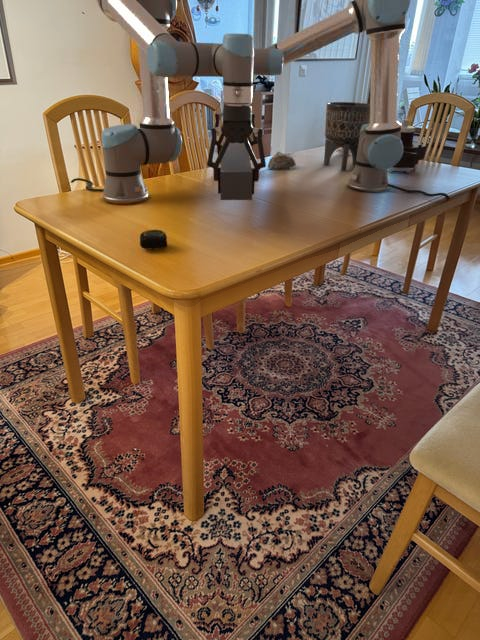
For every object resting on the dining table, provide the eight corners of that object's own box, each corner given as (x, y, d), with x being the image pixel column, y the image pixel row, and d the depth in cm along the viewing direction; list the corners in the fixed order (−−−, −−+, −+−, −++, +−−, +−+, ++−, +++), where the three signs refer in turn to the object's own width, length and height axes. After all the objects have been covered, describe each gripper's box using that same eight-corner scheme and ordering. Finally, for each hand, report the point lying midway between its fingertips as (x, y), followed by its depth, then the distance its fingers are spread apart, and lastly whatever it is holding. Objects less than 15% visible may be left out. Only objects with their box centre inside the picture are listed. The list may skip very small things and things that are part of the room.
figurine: (357, 153, 242) (361, 127, 235) (346, 157, 231) (349, 130, 224) (343, 151, 245) (346, 126, 239) (331, 155, 235) (334, 129, 228)
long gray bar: (223, 163, 168) (222, 141, 165) (246, 163, 169) (246, 142, 165) (220, 199, 123) (220, 171, 120) (251, 200, 123) (252, 172, 120)
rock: (286, 164, 212) (287, 149, 208) (299, 167, 206) (301, 152, 203) (265, 168, 204) (266, 153, 201) (279, 171, 199) (280, 156, 195)
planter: (313, 167, 208) (319, 103, 195) (331, 160, 222) (338, 101, 209) (353, 173, 199) (362, 107, 185) (369, 166, 213) (379, 104, 199)
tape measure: (140, 252, 115) (139, 238, 113) (141, 242, 120) (140, 229, 119) (167, 251, 116) (166, 237, 114) (167, 241, 121) (166, 228, 120)
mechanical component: (372, 119, 196) (401, 114, 216) (364, 169, 206) (392, 160, 226) (421, 124, 184) (447, 118, 203) (410, 177, 194) (436, 167, 214)
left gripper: (194, 105, 113) (197, 195, 124) (280, 106, 113) (274, 196, 125) (196, 102, 119) (198, 188, 131) (277, 103, 120) (272, 189, 131)
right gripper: (202, 95, 148) (204, 166, 160) (267, 95, 149) (265, 166, 161) (203, 94, 155) (205, 162, 166) (265, 94, 156) (263, 162, 167)
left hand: (235, 192), depth 128 cm, fingers closed on long gray bar, 9 cm apart
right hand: (234, 164), depth 163 cm, fingers closed on long gray bar, 9 cm apart
